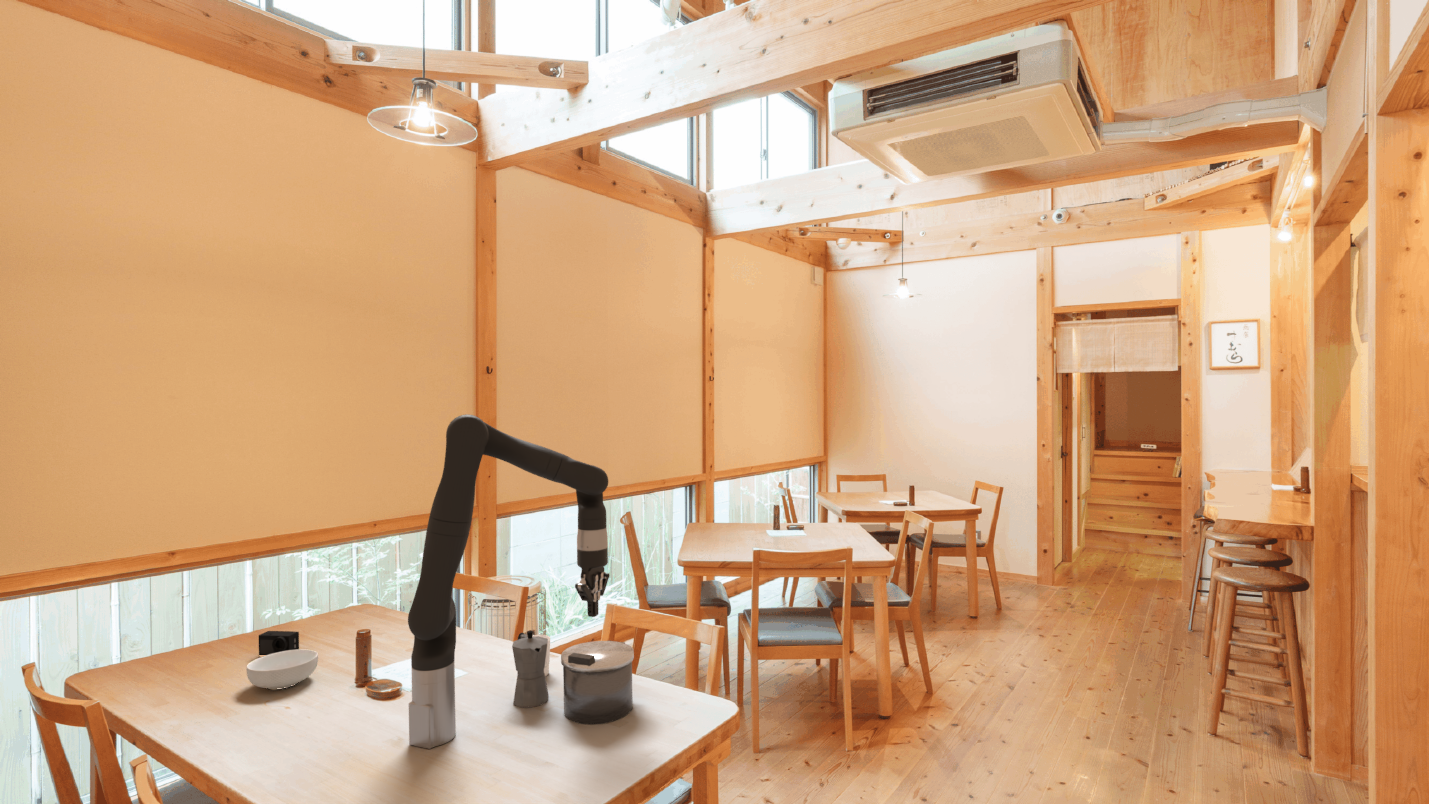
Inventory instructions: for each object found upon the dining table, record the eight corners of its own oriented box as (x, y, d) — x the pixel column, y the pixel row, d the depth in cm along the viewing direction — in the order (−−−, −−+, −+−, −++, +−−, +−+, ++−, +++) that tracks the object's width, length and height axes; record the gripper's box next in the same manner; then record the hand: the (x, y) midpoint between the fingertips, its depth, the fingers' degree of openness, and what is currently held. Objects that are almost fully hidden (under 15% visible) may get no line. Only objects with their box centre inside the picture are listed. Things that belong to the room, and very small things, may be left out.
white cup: (546, 680, 191) (546, 644, 191) (518, 680, 191) (517, 644, 191) (553, 669, 199) (553, 634, 199) (526, 669, 199) (526, 634, 199)
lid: (611, 676, 161) (611, 662, 161) (546, 666, 168) (546, 653, 168) (647, 650, 179) (647, 638, 179) (587, 642, 185) (587, 630, 185)
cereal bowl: (331, 673, 198) (331, 648, 198) (290, 698, 182) (290, 671, 182) (277, 671, 200) (276, 647, 200) (231, 696, 183) (230, 670, 183)
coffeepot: (557, 704, 175) (556, 634, 175) (521, 714, 170) (520, 641, 170) (537, 684, 188) (536, 618, 188) (502, 692, 183) (501, 625, 183)
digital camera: (255, 659, 211) (254, 636, 211) (268, 652, 216) (268, 630, 216) (286, 660, 209) (285, 637, 209) (299, 653, 215) (298, 631, 215)
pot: (611, 729, 162) (610, 678, 162) (550, 717, 168) (549, 668, 168) (647, 696, 179) (647, 650, 179) (591, 687, 186) (590, 642, 186)
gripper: (591, 552, 163) (592, 625, 163) (618, 542, 176) (619, 609, 176) (564, 550, 166) (565, 622, 166) (593, 540, 178) (593, 606, 178)
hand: (593, 615), depth 171 cm, fingers closed
